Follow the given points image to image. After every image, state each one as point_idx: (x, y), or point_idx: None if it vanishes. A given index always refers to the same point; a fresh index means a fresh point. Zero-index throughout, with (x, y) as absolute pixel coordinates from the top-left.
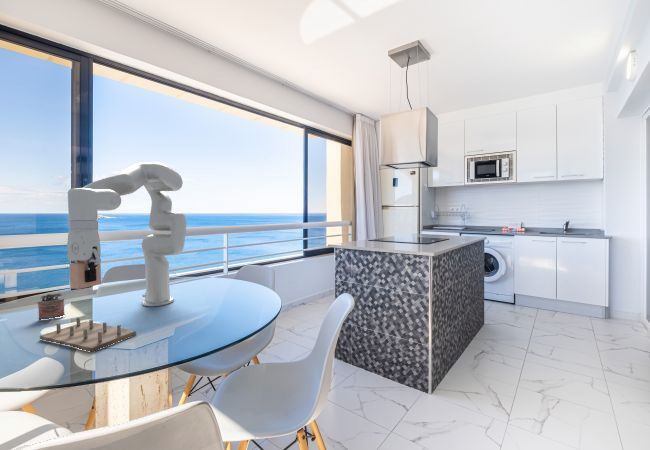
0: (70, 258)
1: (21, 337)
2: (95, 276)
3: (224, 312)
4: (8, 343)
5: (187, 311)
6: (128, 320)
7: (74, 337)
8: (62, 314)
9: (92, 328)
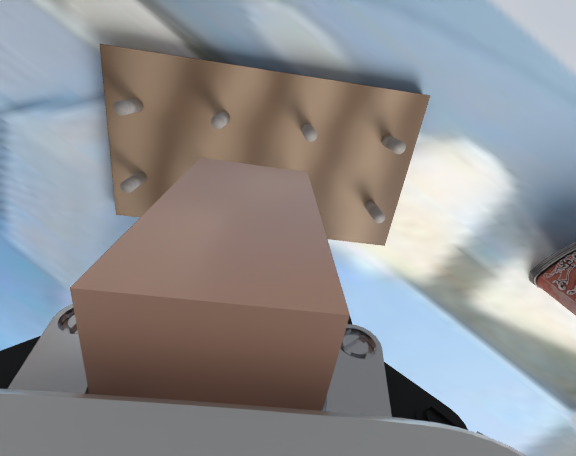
0: (416, 452)
1: (523, 100)
2: None
3: None
4: (522, 41)
5: None
6: None
7: (275, 114)
8: (540, 279)
9: None
